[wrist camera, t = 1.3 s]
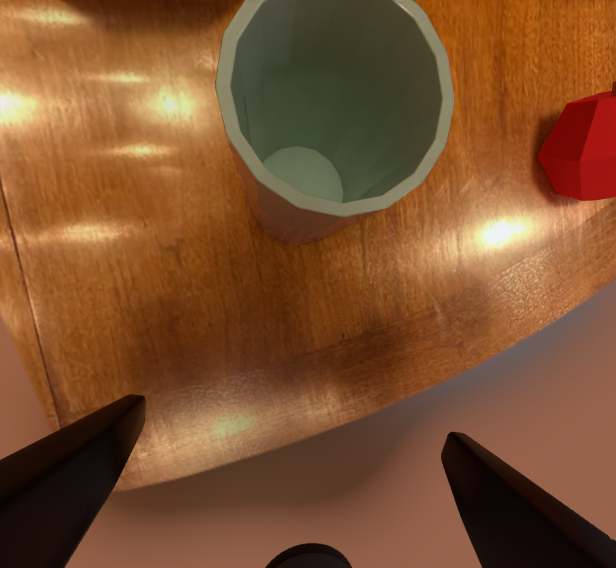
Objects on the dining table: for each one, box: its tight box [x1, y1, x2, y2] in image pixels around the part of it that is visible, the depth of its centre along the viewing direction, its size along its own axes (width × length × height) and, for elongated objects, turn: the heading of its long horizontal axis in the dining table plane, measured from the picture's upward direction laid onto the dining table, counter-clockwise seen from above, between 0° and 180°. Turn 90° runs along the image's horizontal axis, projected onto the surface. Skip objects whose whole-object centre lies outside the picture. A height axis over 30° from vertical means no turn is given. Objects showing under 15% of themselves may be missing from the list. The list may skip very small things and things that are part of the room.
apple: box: [537, 81, 616, 201], centre depth 20 cm, size 7×7×8 cm
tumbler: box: [215, 0, 455, 245], centre depth 14 cm, size 7×7×12 cm
